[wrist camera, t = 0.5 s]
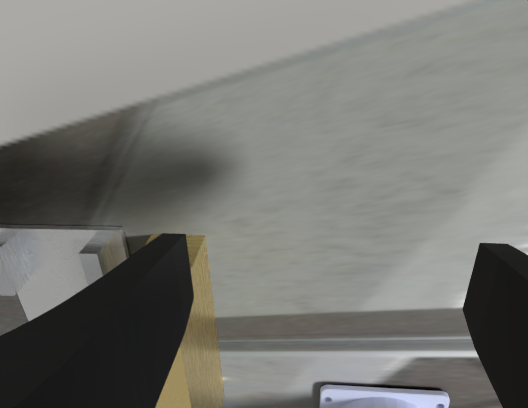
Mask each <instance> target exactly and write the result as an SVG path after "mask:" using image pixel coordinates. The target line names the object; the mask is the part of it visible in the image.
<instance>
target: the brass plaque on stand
mask: <svg viewBox="0 0 528 408" xmlns="http://www.w3.org/2000/svg"><path fill="white" fill-rule="evenodd" d="M158 236H159V235H155V234H152V235H151V236H150V238H149V239H148V241H147V242H146V244H148V243H149V242H151V241H152V240H153V239H155V238H156V237H158ZM186 239H187V247H188V254H189V262H190V270H191V277H192V285H193V292H194V300H193V304H192V308H191V312H190V316H189V320H188V324H187V328H186V331H185V334H184V337H183V339H182V342H181V344H180V347H179V349H178V352H177V355H176V357H175V360H174V362H173V365H172V367H171V370H170V372H169V375H168V377H167V380H166V382H165V385H164V387H163V390H162V392H161V395H160V397H159V400H158V402H157V405H156V407H155V408H222V404H223V399H224V388H223V379H222V371H221V363H220V354H219V346H218V338H217V330H216V321H215V313H214V305H213V297H212V288H211V280H210V272H209V264H208V255H207V247H206V239H205V236H201V235H186ZM146 244H145V245H146Z"/></svg>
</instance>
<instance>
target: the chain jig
mask: <svg viewBox="0 0 528 408" xmlns="http://www.w3.org/2000/svg"><path fill="white" fill-rule="evenodd" d="M129 257H130V255H129V251H128V247H127V242H126V238H125V234H124V230H123V227H112V226H55V225H0V295H5V296H14V295H15V294H16V293H17V294H18V296H19V299H20V301H21V304H22V306H23V309H24V311H25V313H26V316H27V318H28V321H31V320H32V319H34V318H36V317H38V316H40V315H42V314H43V313H45V312H47V311H49V310H50V309H52V308H54V307H56V306H57V305H59V304H61V303H62V302H64V301H66V300H67V299H69V298H70V297H72V296H73V295H75V294H76V293H78V292H79V291H81V290H83V289H84V288H86V287H87V286H89V285H90V284H92V283H93V282H95V281H96V280H98V279H99V278H101V277H102V276H104V275H105V274H107V273H108V272H109V271H111V270H112V269H114V268H115V267H116V266H118V265H119V264H120V263H122V262H123V261H125V260H126V259H127V258H129Z"/></svg>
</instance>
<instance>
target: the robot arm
mask: <svg viewBox="0 0 528 408" xmlns="http://www.w3.org/2000/svg"><path fill="white" fill-rule="evenodd" d="M193 300H194V292H193V285H192V277H191V270H190V262H189V254H188V247H187V239H186V234H166V233H163V234H161V235H159V236H158V237H156V238H155V239H153V240H152V241H151V242H149V243H148V244H146V245H145V246H144V247H142V248H141V249H140V250H138V251H137V252H136V253H134V254H133V255H132V256H130V257H129V258H127V259H126V260H125V261H123V262H122V263H120V264H119V265H118V266H116V267H115V268H114V269H112V270H111V271H109V272H108V273H107V274H105V275H104V276H102V277H101V278H99V279H98V280H96V281H95V282H93V283H92V284H90V285H89V286H87V287H86V288H84V289H83V290H81V291H79V292H78V293H76V294H75V295H73V296H72V297H70V298H69V299H67V300H66V301H64V302H62V303H61V304H59V305H57V306H56V307H54V308H52V309H50V310H49V311H47V312H45V313H43V314H42V315H40V316H38V317H36V318H34V319H32V320H31V321H29V322H27V323H25V324H23V325H21V326H20V327H18V328H16V329H14V330H12V331H10V332H7V333H5V334H3V335H1V336H0V408H155V407H156V405H157V402H158V400H159V397H160V395H161V392H162V390H163V387H164V385H165V382H166V380H167V377H168V375H169V372H170V370H171V367H172V365H173V362H174V360H175V357H176V355H177V352H178V349H179V347H180V344H181V342H182V339H183V337H184V334H185V331H186V328H187V324H188V320H189V316H190V312H191V308H192V304H193ZM463 312H464V315H465V319H466V322H467V325H468V329H469V332H470V335H471V338H472V341H473V344H474V347H475V349H476V351H477V354H478V356H479V358H480V360H481V362H482V365H483V367H484V369H485V371H486V373H487V375H488V377H489V380H490V382H491V384H492V386H493V388H494V390H495V392H496V394H497V396H498V398H499V401H500V403H501V405H502V407H503V408H528V255H526V254H525V253H523V252H521V251H520V250H518V249H516V248H514V247H512V246H510V245H508V244H495V243H480V245H479V249H478V252H477V256H476V260H475V264H474V268H473V272H472V275H471V279H470V283H469V287H468V291H467V295H466V299H465V302H464V306H463ZM449 402H450V399H449V396H448V394H447V393H446V392H444V391H432V390H414V389H396V388H378V387H360V386H342V385H324V386H322V387H321V389H320V408H448V406H449Z"/></svg>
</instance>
